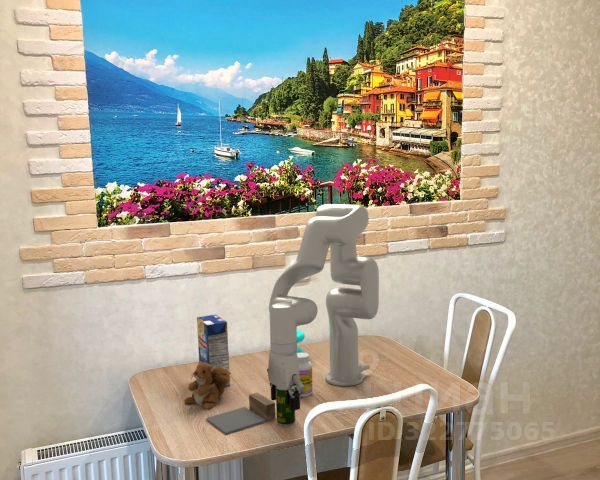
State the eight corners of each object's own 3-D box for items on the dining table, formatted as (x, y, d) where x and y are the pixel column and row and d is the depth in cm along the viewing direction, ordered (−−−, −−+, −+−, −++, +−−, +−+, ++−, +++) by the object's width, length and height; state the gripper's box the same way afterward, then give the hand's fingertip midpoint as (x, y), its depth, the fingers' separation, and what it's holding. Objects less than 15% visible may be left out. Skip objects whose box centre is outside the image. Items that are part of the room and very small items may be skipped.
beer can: (285, 417, 188) (284, 378, 186) (299, 422, 184) (298, 382, 182) (273, 423, 184) (271, 383, 182) (287, 428, 180) (285, 388, 178)
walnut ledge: (258, 406, 196) (257, 392, 195) (275, 417, 188) (274, 402, 187) (249, 408, 194) (248, 394, 193) (266, 420, 186) (266, 405, 185)
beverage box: (210, 390, 210) (207, 325, 207) (200, 379, 220) (196, 317, 216) (230, 386, 213) (227, 322, 210) (218, 375, 223) (215, 314, 219)
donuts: (302, 336, 231) (275, 336, 233) (303, 363, 233) (276, 362, 234) (306, 328, 241) (280, 328, 242) (306, 354, 243) (280, 353, 244)
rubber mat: (245, 408, 194) (244, 406, 194) (265, 422, 185) (265, 420, 185) (206, 419, 187) (206, 418, 187) (225, 434, 177) (225, 432, 177)
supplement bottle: (297, 399, 201) (296, 359, 199) (288, 392, 206) (287, 353, 204) (316, 394, 204) (315, 356, 202) (306, 388, 209) (305, 350, 207)
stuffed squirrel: (181, 404, 199) (179, 363, 197) (214, 390, 210) (212, 351, 208) (203, 412, 193) (200, 370, 191) (236, 397, 203) (234, 357, 201)
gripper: (256, 342, 185) (258, 398, 188) (289, 357, 171) (291, 418, 174) (278, 337, 190) (280, 392, 192) (312, 351, 175) (313, 411, 178)
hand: (285, 404), depth 183 cm, fingers open, 9 cm apart
